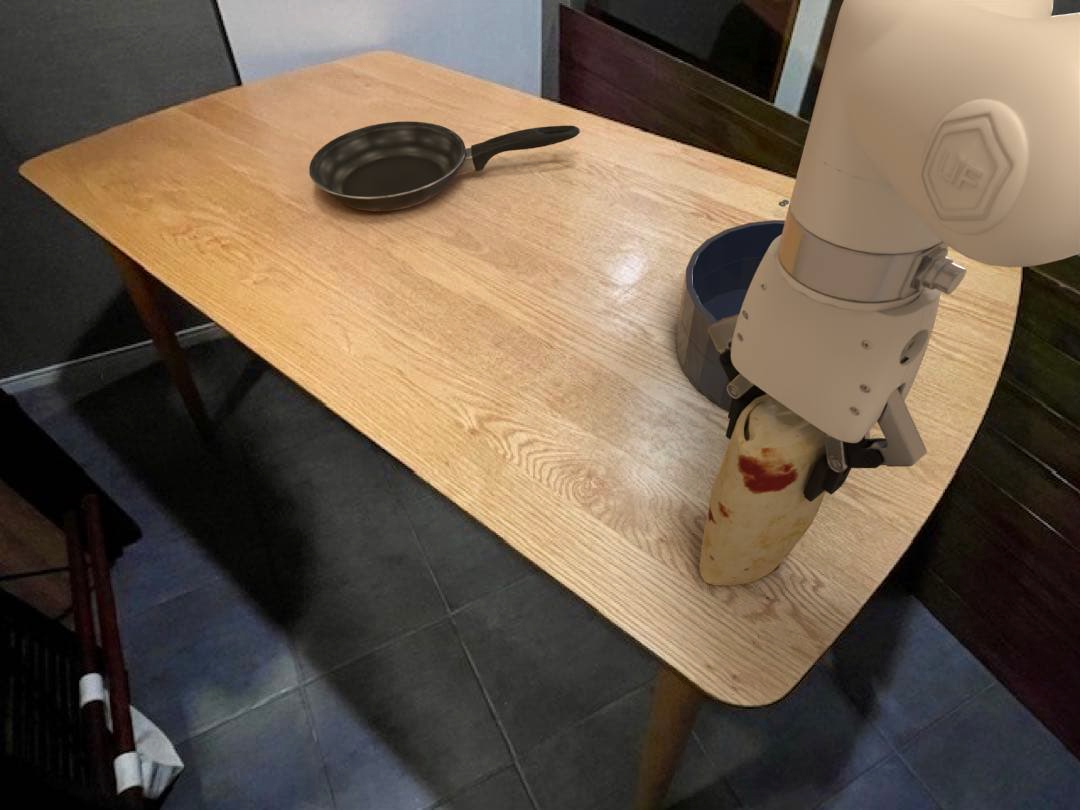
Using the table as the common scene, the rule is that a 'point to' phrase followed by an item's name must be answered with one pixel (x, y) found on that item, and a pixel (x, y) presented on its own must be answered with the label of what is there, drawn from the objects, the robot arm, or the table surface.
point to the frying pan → (410, 161)
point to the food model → (760, 494)
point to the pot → (718, 299)
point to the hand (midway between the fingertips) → (779, 456)
